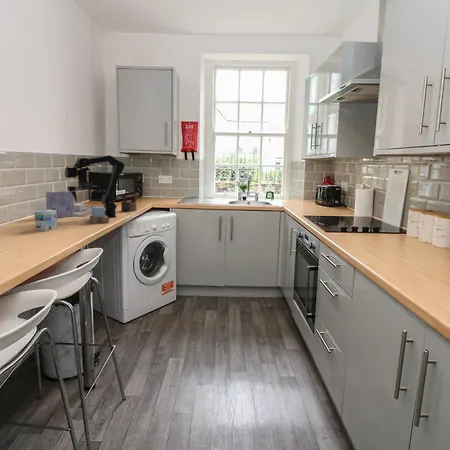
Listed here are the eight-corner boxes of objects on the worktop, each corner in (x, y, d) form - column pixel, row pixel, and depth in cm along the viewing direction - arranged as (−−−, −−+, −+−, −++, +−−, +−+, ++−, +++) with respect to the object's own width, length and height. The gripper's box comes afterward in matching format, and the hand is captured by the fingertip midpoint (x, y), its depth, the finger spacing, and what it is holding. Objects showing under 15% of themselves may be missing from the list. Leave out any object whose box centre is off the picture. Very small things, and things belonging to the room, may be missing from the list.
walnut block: (105, 220, 241) (105, 214, 241) (109, 223, 233) (108, 217, 232) (90, 221, 237) (89, 215, 236) (92, 224, 228) (92, 218, 227)
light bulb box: (45, 231, 203) (44, 212, 201) (35, 230, 204) (33, 211, 202) (58, 227, 213) (57, 209, 211) (48, 227, 215) (46, 209, 213)
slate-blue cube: (101, 215, 238) (101, 206, 237) (104, 216, 233) (104, 207, 232) (92, 216, 234) (91, 206, 233) (95, 217, 230) (94, 208, 229)
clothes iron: (142, 209, 292) (142, 192, 290) (128, 212, 278) (128, 194, 276) (134, 208, 296) (134, 192, 293) (120, 211, 282) (120, 193, 279)
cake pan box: (72, 214, 259) (71, 190, 256) (76, 215, 256) (75, 190, 253) (46, 218, 243) (44, 191, 240) (50, 219, 241) (48, 192, 237)
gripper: (70, 178, 226) (71, 203, 229) (100, 178, 236) (101, 202, 239) (66, 177, 235) (67, 201, 238) (95, 177, 245) (96, 200, 248)
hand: (83, 201), depth 240 cm, fingers open, 9 cm apart
